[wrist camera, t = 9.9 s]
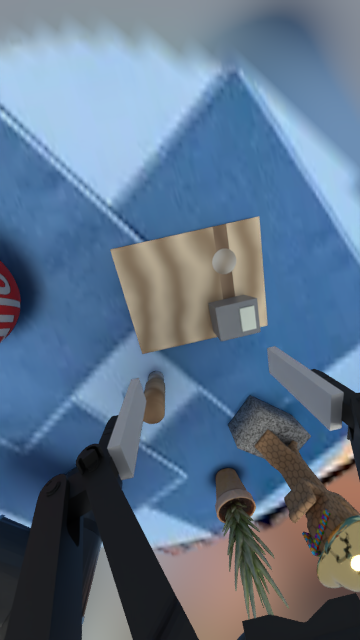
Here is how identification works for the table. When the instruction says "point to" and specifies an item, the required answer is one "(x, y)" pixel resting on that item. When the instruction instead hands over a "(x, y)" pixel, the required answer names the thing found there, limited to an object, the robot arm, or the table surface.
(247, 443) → the figurine
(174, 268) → the board
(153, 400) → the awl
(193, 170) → the table surface
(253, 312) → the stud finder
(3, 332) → the decorative sphere
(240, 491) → the potted plant
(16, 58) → the table surface
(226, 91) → the table surface
